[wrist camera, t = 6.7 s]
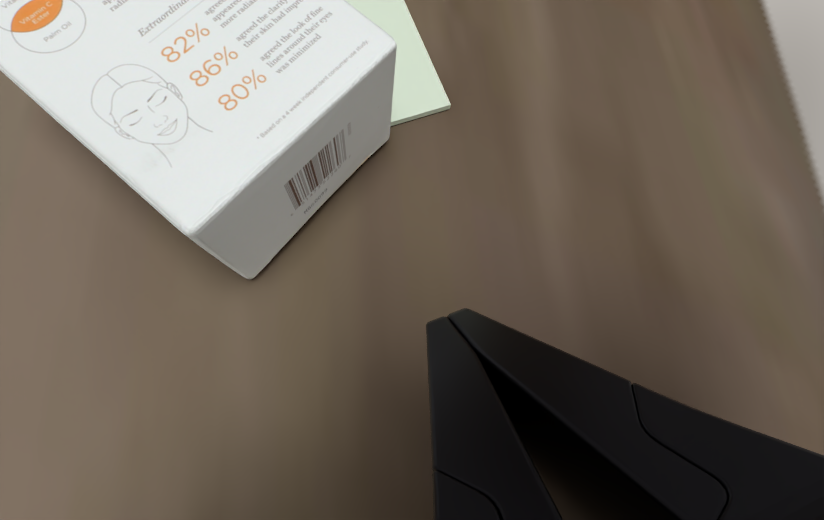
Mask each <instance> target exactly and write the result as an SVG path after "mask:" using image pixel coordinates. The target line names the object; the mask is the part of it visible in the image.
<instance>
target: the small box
mask: <svg viewBox="0 0 824 520" xmlns="http://www.w3.org/2000/svg"><path fill="white" fill-rule="evenodd" d="M396 50H397V45H396V42H395V40H394V39H393V37H392V36H390V35H389V34H388V33H387V32H385V31H384V30H383V29H382V28H380V27H379V26H378V25H376V24H375V23H374V22H373V21H371V20H370V19H369V18H367V17H366V16H365V15H363V14H362V13H361V12H360V11H358V10H357V9H356V8H354V7H353V6H352V5H351V4H349V3H348V2H347V1H345V0H0V70H1V71H2V72H3V73H4V74H5V75H6V76H7V77H8V78H9V79H11V80H12V81H13V82H14V83H15V84H16V85H17V86H18V87H19V88H21V89H22V90H23V91H24V92H25V93H26V94H27V95H28V96H30V97H31V98H32V99H33V100H34V101H35V102H36V103H37V104H38V105H40V106H41V107H42V108H43V109H44V110H45V111H46V112H47V113H48V114H49V115H51V116H52V117H53V118H54V119H55V120H56V121H57V122H58V123H59V124H61V125H62V126H63V127H64V128H65V129H66V130H67V131H68V132H70V133H71V134H72V135H73V136H74V137H75V138H76V139H77V140H79V141H80V142H81V143H82V144H83V145H84V146H85V147H87V148H88V149H89V150H90V151H91V152H92V153H93V154H94V155H96V156H97V157H98V158H99V159H100V160H101V161H102V162H104V163H105V164H106V165H107V166H108V167H109V168H110V169H111V170H112V171H114V172H115V173H116V174H117V175H118V176H119V177H120V178H121V179H122V180H123V181H125V182H126V183H127V184H128V185H129V186H130V187H131V188H132V189H134V190H135V191H136V192H137V193H138V194H139V195H140V196H141V197H142V198H144V199H145V200H146V201H147V202H148V203H149V204H150V205H151V206H153V207H154V208H155V209H156V210H157V211H158V212H159V213H160V214H161V215H163V216H164V217H165V218H166V219H167V220H168V221H169V222H170V223H171V224H173V225H174V226H175V227H176V228H177V229H178V230H180V231H181V232H182V233H183V234H184V235H186V236H187V237H189V238H190V239H191V240H192V241H194V242H195V243H196V244H197V245H199V246H200V247H201V248H203V249H204V250H206V251H207V252H208V253H210V254H211V255H213V256H214V257H215V258H217V259H218V260H220V261H221V262H222V263H224V264H225V265H226V266H228V267H229V268H231V269H232V270H234V271H235V272H237V273H238V274H240V275H241V276H243V277H244V278H247V279H252V278H254V277H255V276H256V275H257V274H258V273H259V272H260V271H261V270H262V269H263V268H264V267H265V266H266V265H267V264H268V263H269V262H270V261H271V259H272V258H273V257H274V256H275V255H276V254H277V253H278V252H279V251H280V250H281V249H282V247H283V246H284V245H285V244H286V243H287V242H288V241H289V240H290V239H291V238H292V237H293V236H294V235H295V233H296V232H297V231H298V230H299V229H300V228H301V227H302V226H303V225H304V224H305V223H306V222H307V221H308V219H309V218H310V217H311V216H312V215H313V214H314V213H315V212H316V211H317V210H318V209H319V208H320V206H321V205H322V204H323V203H324V202H325V201H326V200H327V199H328V198H329V197H330V196H331V195H332V194H333V193H334V192H335V191H336V190H337V189H338V188H339V187H340V186H341V185H342V184H343V183H344V182H345V181H346V180H347V179H348V178H349V177H350V176H351V175H352V174H353V173H354V172H355V171H356V170H357V169H358V168H359V167H360V166H361V165H362V164H363V163H364V162H365V161H366V160H367V159H368V158H369V157H370V156H371V155H372V154H373V153H374V152H375V151H376V150H377V149H379V148H380V147H381V146H382V145H383V144H384V143H385V142H386V141H387V140H388V139H389V136H390V125H391V113H392V99H393V87H394V74H395V62H396Z"/></svg>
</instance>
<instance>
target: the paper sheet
mask: <svg viewBox="0 0 824 520" xmlns="http://www.w3.org/2000/svg"><path fill="white" fill-rule="evenodd" d="M345 1H347V2H348V3H349V4H351V5H352V6H353V7H354V8H356V9H357V10H358V11H360V12H361V13H362V14H363V15H365V16H366V17H367V18H369V19H370V20H371V21H373V22H374V23H375V24H376V25H378V26H379V27H380V28H382V29H383V30H384V31H385V32H387V33H388V34H389V35H390V36H392V37H393V39H394V40H395V42H396V45H397V50H396V62H395V74H394V87H393V99H392V113H391V125H390V126H393V125H397V124H400V123H404V122H407V121H410V120H414V119H417V118H420V117H424V116H427V115H431V114H434V113H437V112H441V111H444V110H447V109H450V106H451V104H450V102H449V100H448V97H447V95H446V93H445V91H444V89H443V86H442V84H441V82H440V80H439V77H438V75H437V73H436V71H435V68H434V66H433V64H432V62H431V60H430V57H429V55H428V53H427V51H426V48H425V46H424V44H423V42H422V39H421V37H420V35H419V33H418V31H417V28H416V26H415V24H414V22H413V19H412V17H411V15H410V13H409V10H408V8H407V6H406V4H405V2H404V0H345Z"/></svg>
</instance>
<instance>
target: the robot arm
mask: <svg viewBox="0 0 824 520" xmlns="http://www.w3.org/2000/svg"><path fill="white" fill-rule="evenodd" d="M426 334H427V357H428V380H429V402H430V425H431V448H432V469H433V474H432V478H433V516H434V520H824V455H821V454H818V453H815V452H813V451H810V450H807V449H804V448H801V447H798V446H796V445H793V444H790V443H787V442H784V441H782V440H779V439H776V438H773V437H770V436H768V435H765V434H762V433H759V432H756V431H753V430H751V429H748V428H745V427H742V426H739V425H737V424H734V423H731V422H729V421H726V420H723V419H721V418H718V417H715V416H713V415H710V414H707V413H705V412H702V411H699V410H697V409H694V408H692V407H689V406H687V405H685V404H682V403H680V402H678V401H675V400H673V399H670V398H668V397H666V396H663V395H661V394H659V393H656V392H654V391H652V390H649V389H647V388H645V387H643V386H641V385H638V384H636V383H633V384H632V385H631V382H630V381H629V380H627V379H624V378H622V377H620V376H618V375H615V374H613V373H611V372H609V371H607V370H604V369H602V368H600V367H598V366H595V365H593V364H591V363H589V362H586V361H584V360H582V359H580V358H577V357H575V356H573V355H571V354H568V353H566V352H564V351H562V350H560V349H557V348H555V347H553V346H551V345H548V344H546V343H544V342H542V341H539V340H537V339H535V338H533V337H530V336H528V335H526V334H524V333H521V332H519V331H517V330H515V329H513V328H510V327H508V326H506V325H504V324H501V323H499V322H497V321H495V320H492V319H490V318H488V317H486V316H483V315H481V314H479V313H477V312H474V311H472V310H470V309H466V308H465V309H461V310H459V311H456V312H453V313H451V314H449V315H448V316H447V317H440V318H438V319H435V320H432V321H430V322H428V323H427V325H426Z"/></svg>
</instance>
